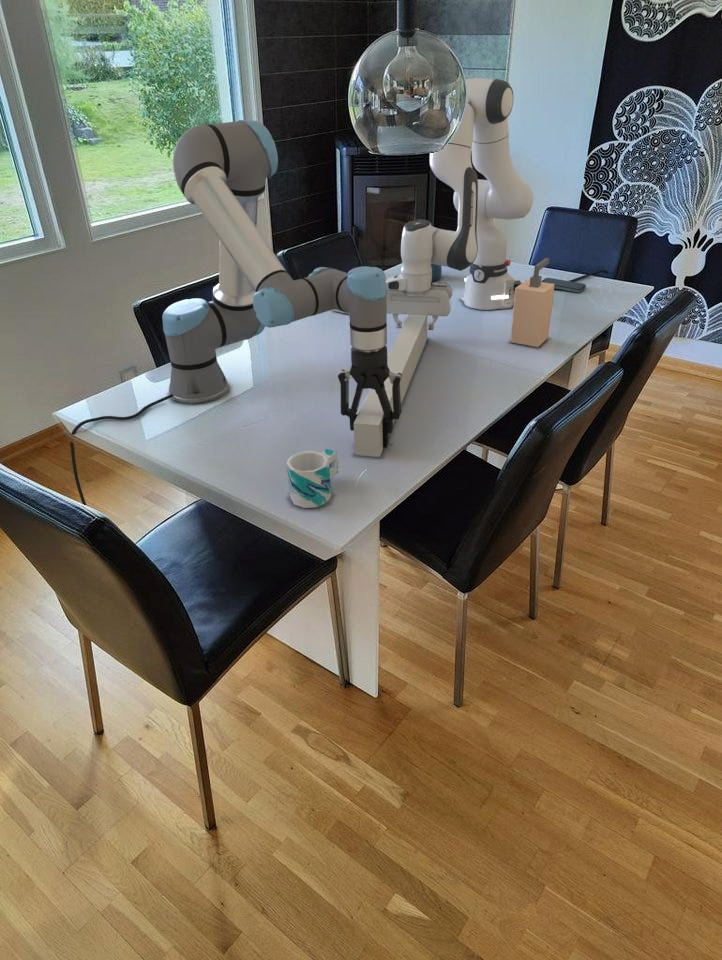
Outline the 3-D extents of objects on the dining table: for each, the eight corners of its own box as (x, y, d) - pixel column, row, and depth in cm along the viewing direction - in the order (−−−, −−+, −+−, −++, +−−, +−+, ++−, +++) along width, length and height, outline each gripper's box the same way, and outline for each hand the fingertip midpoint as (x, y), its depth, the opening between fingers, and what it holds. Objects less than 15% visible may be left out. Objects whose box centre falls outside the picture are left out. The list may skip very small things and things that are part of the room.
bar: (379, 457, 146) (379, 424, 142) (355, 455, 147) (353, 422, 143) (427, 338, 204) (427, 313, 200) (409, 337, 205) (409, 312, 201)
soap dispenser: (538, 347, 195) (546, 271, 183) (510, 342, 199) (517, 267, 187) (552, 333, 204) (562, 259, 192) (525, 328, 208) (533, 256, 196)
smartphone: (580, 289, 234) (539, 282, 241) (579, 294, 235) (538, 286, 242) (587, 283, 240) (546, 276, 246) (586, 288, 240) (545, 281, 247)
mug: (282, 500, 133) (278, 464, 129) (317, 472, 142) (314, 437, 137) (316, 512, 129) (313, 475, 125) (350, 482, 138) (348, 447, 133)
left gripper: (416, 341, 139) (415, 439, 151) (330, 337, 143) (336, 432, 155) (410, 355, 133) (410, 455, 145) (320, 350, 137) (327, 448, 149)
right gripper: (453, 280, 191) (451, 327, 198) (383, 277, 195) (383, 323, 202) (451, 286, 186) (449, 334, 193) (379, 283, 190) (379, 330, 197)
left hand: (371, 443), depth 150 cm, fingers closed on bar, 6 cm apart
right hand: (415, 328), depth 198 cm, fingers open, 8 cm apart
